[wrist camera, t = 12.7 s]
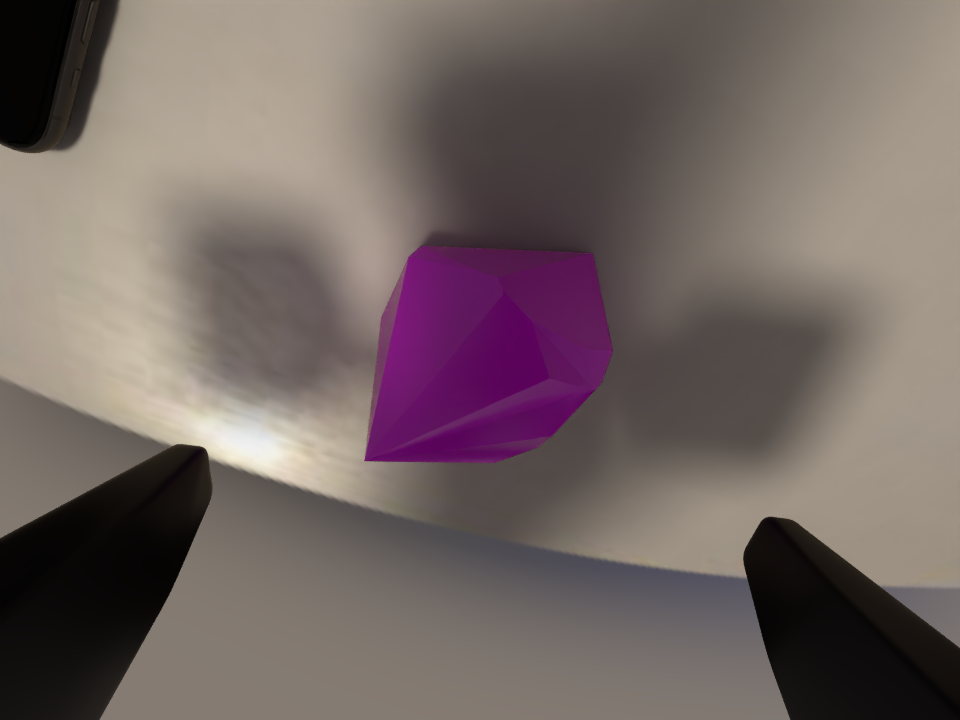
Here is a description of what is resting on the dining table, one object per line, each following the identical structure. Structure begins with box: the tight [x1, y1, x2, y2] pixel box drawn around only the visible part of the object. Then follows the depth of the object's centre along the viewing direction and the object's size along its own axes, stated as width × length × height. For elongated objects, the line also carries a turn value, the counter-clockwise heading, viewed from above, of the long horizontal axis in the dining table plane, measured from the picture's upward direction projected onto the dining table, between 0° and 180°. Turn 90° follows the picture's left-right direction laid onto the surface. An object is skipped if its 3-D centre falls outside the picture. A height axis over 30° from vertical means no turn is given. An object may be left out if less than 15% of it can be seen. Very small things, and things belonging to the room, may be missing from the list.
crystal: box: [364, 246, 613, 463], centre depth 13 cm, size 5×5×5 cm
